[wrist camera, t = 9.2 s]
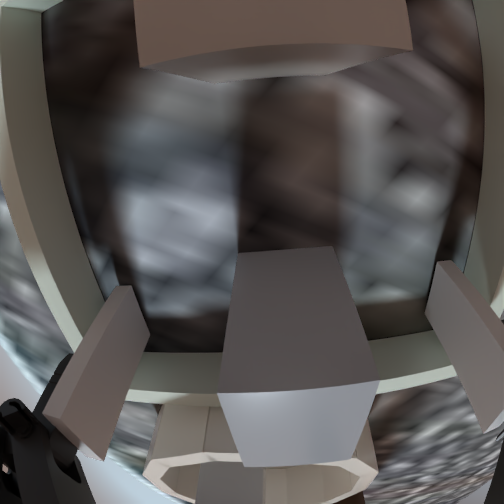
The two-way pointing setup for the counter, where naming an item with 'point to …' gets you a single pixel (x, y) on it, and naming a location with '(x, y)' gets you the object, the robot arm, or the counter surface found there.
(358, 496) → the beer bottle
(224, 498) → the grey rectangular block
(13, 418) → the robot arm
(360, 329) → the light grey cuboid
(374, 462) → the bowl
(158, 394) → the square frame
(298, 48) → the taupe block
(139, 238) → the counter surface
